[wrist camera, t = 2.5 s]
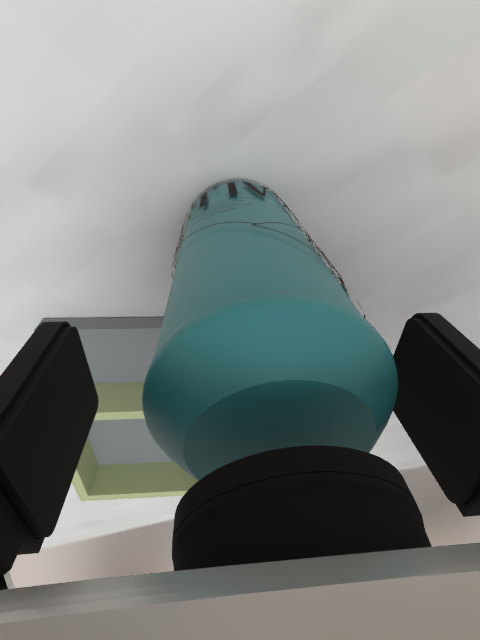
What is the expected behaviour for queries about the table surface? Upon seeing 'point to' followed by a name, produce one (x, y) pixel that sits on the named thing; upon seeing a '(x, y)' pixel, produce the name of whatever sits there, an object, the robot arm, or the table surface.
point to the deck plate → (122, 414)
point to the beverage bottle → (272, 396)
